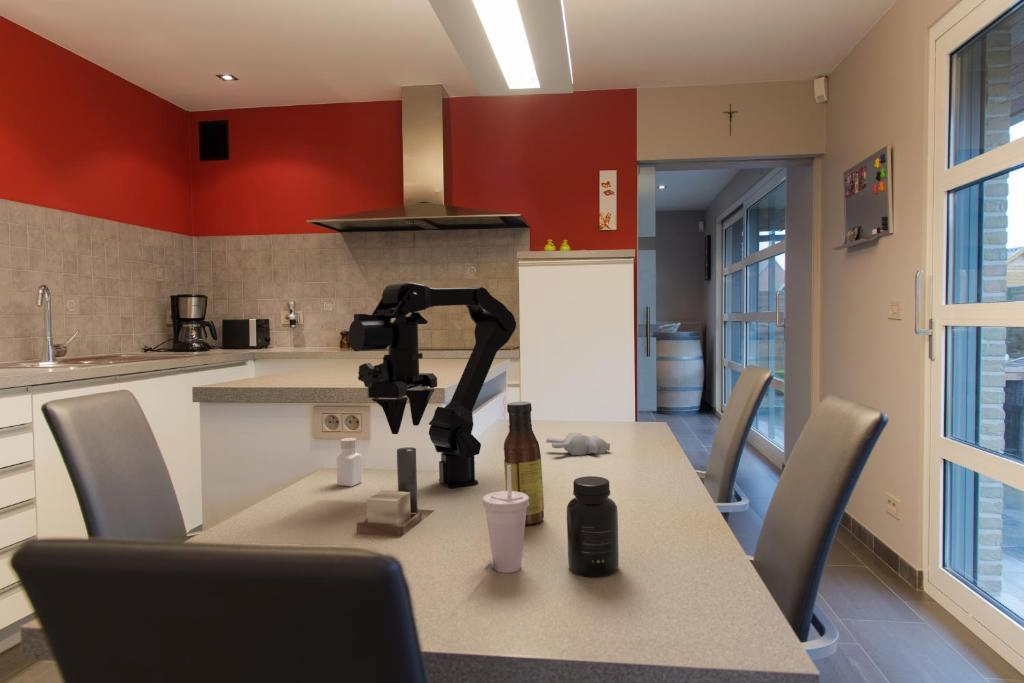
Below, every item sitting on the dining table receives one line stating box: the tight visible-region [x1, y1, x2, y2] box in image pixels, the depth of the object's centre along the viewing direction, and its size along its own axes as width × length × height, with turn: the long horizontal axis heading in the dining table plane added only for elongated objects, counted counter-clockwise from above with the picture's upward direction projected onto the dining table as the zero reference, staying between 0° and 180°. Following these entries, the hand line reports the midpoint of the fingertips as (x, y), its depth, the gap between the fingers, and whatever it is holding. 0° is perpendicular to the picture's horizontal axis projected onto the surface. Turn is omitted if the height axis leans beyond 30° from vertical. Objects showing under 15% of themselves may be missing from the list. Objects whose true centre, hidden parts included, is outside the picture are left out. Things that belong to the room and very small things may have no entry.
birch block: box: [366, 490, 411, 525], centre depth 98 cm, size 5×5×5 cm
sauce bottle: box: [503, 401, 545, 526], centre depth 103 cm, size 6×6×20 cm
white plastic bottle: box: [336, 437, 363, 487], centre depth 129 cm, size 4×4×10 cm
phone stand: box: [356, 446, 435, 538], centre depth 101 cm, size 13×8×12 cm, turn 164°
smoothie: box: [481, 465, 529, 574], centre depth 84 cm, size 6×6×14 cm
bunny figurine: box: [545, 432, 611, 457], centre depth 153 cm, size 10×5×15 cm
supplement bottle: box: [566, 475, 620, 578], centre depth 83 cm, size 7×7×12 cm
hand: (405, 429), depth 119 cm, fingers open, 9 cm apart
